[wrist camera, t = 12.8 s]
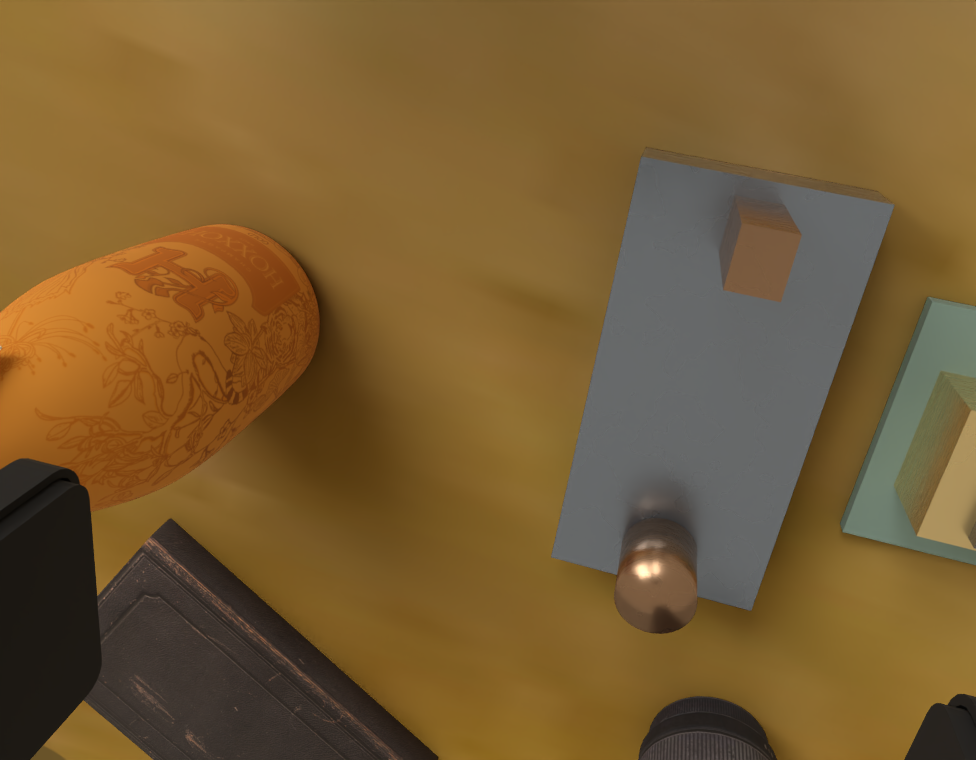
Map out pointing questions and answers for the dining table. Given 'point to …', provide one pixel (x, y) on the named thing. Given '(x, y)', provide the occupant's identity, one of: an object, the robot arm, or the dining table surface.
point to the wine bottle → (152, 357)
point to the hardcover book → (224, 670)
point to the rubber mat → (911, 428)
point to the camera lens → (705, 733)
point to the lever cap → (943, 465)
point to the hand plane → (711, 377)
